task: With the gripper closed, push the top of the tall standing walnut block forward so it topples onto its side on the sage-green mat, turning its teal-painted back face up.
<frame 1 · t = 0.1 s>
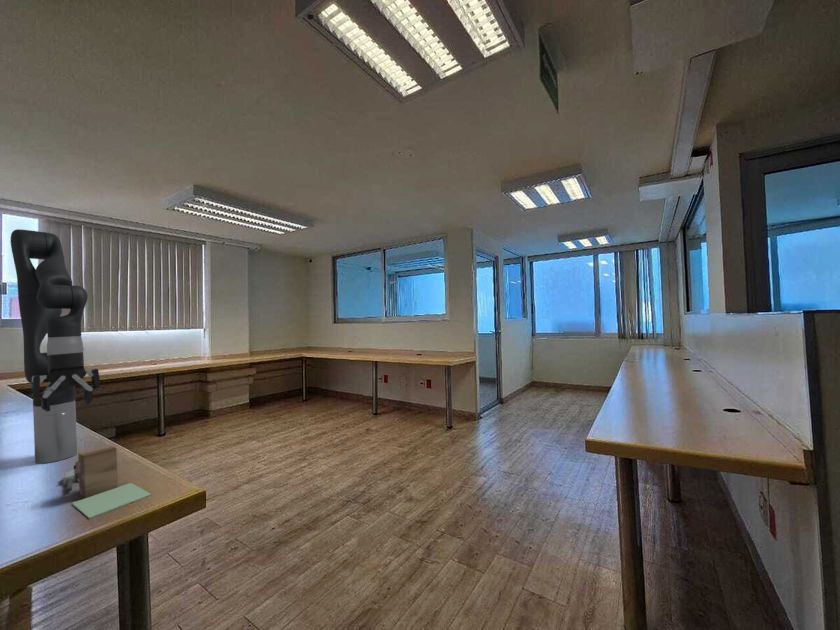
hand: (68, 407, 103), 17 cm above the table, tool pointing down, fingers open, 8 cm apart
mat: (112, 499, 82), on the table
walnut block: (98, 490, 87), on the table
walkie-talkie: (87, 479, 95), on the table
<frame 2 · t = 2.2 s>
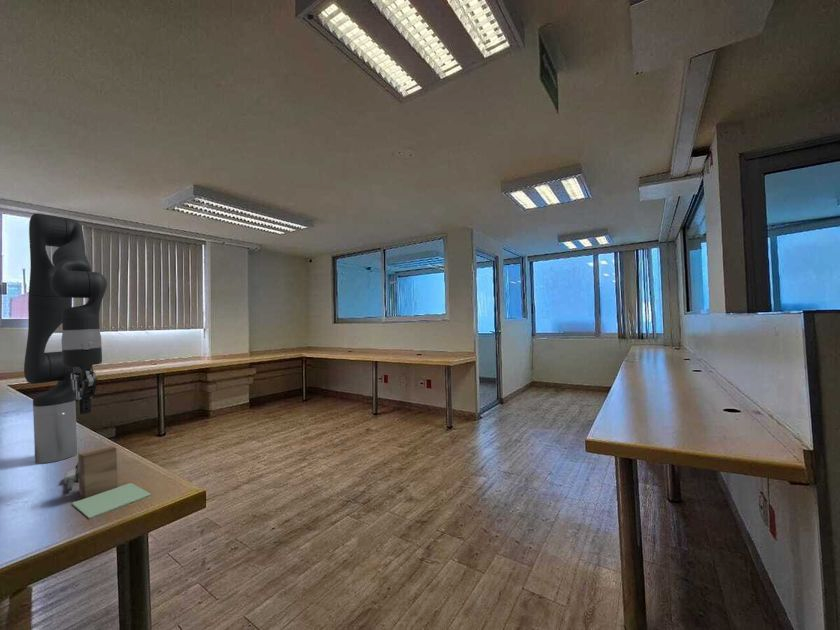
hand: (84, 413, 91), 18 cm above the table, tool pointing down, fingers closed
nothing on the table moved.
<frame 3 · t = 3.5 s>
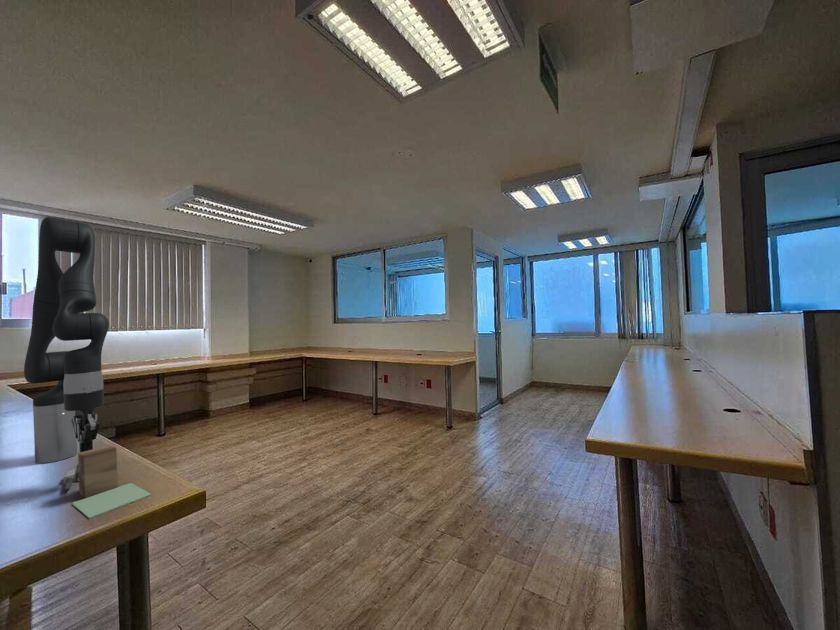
hand: (86, 455, 91), 7 cm above the table, tool pointing down, fingers closed
nothing on the table moved.
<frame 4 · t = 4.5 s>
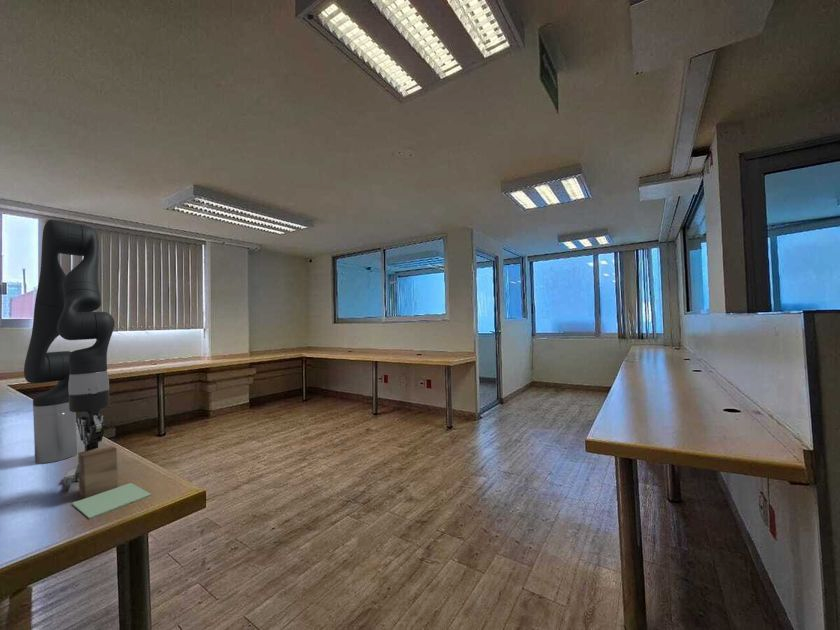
hand: (92, 458, 89), 7 cm above the table, tool pointing down, fingers closed
walnut block: (98, 490, 87), on the table, touching gripper
everything else where it was.
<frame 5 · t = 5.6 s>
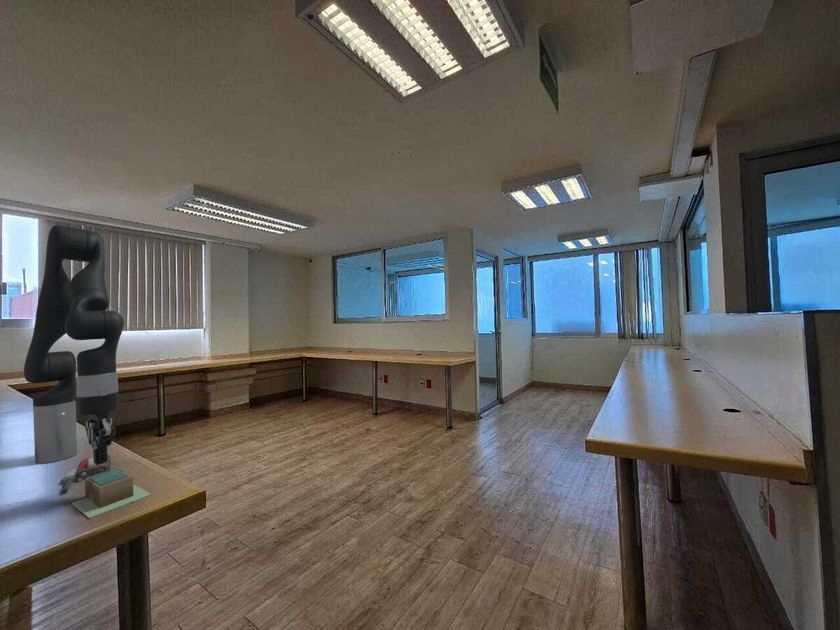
hand: (100, 463, 85), 7 cm above the table, tool pointing down, fingers closed
walnut block: (101, 482, 85), point 3 cm above the table, tilted 90°, touching mat
everything else where it was.
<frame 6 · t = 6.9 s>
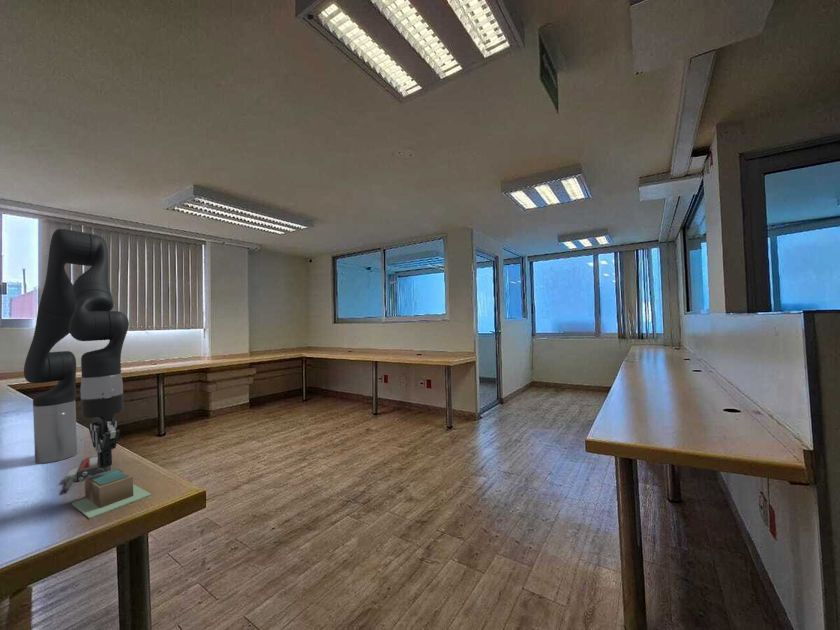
hand: (105, 466, 84), 7 cm above the table, tool pointing down, fingers closed
nothing on the table moved.
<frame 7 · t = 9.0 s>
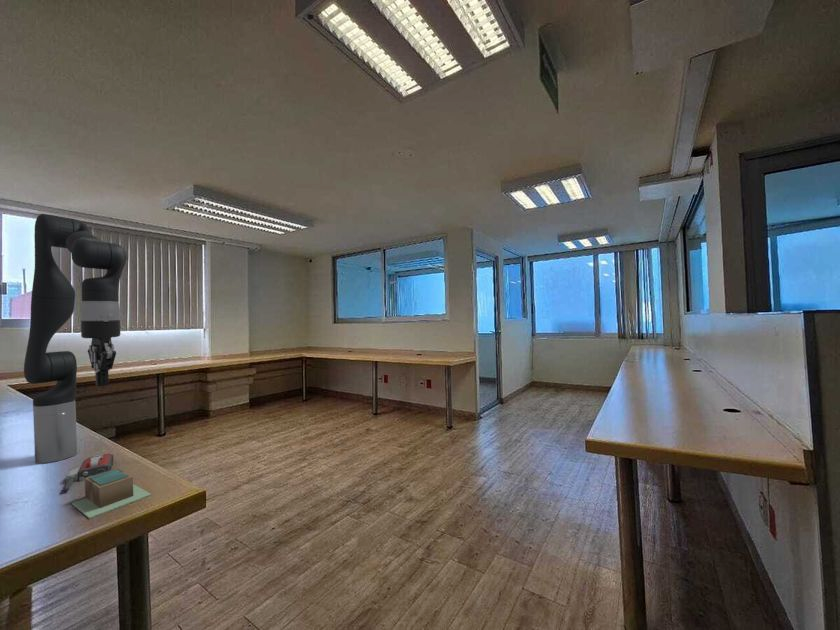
hand: (102, 385, 91), 25 cm above the table, tool pointing down, fingers closed
nothing on the table moved.
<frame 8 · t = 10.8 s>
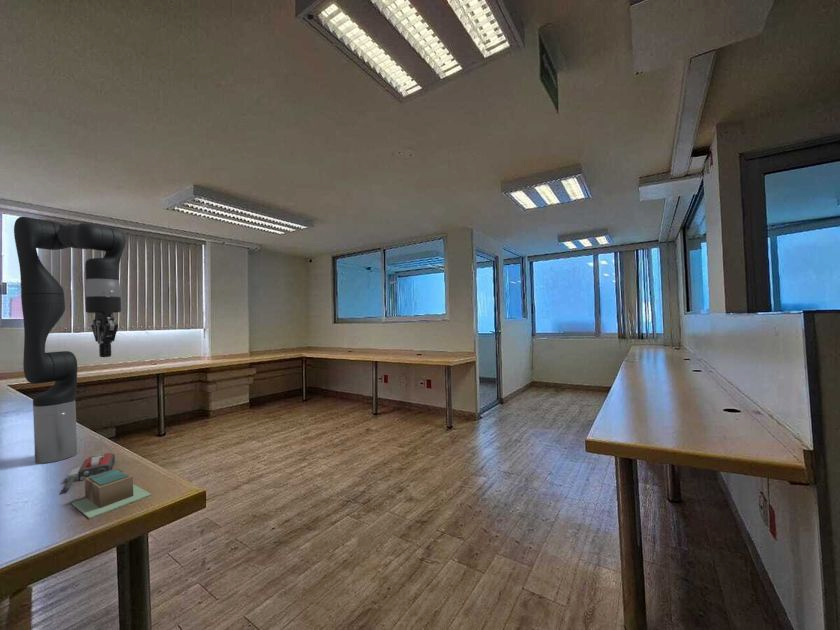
hand: (105, 356, 99), 32 cm above the table, tool pointing down, fingers closed
at the end: walnut block tilted 90°; walnut block inside the target area (2.3 cm from its centre), point 2.5 cm above the table; walnut block touching mat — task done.
